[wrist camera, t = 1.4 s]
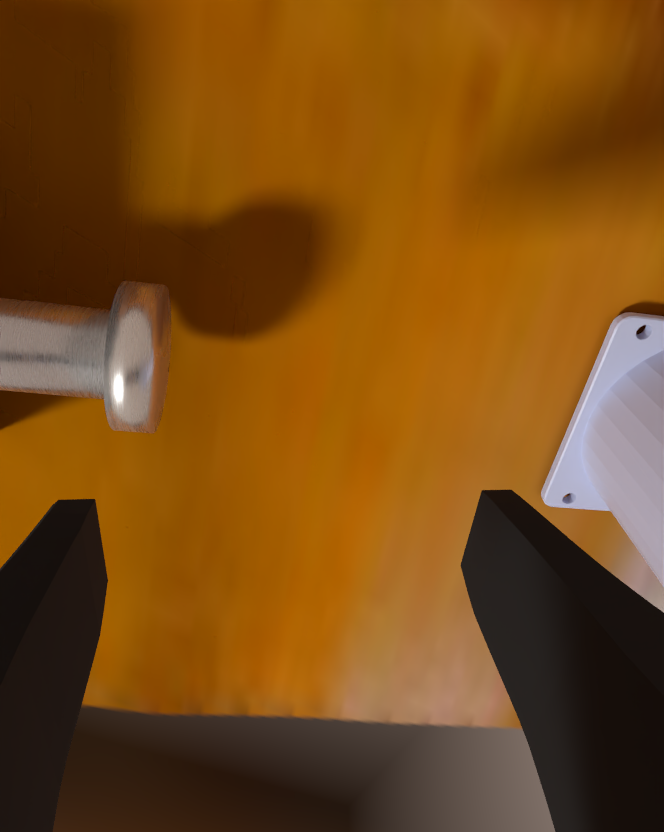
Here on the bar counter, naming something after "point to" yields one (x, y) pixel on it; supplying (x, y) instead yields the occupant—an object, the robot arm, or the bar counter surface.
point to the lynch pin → (93, 352)
